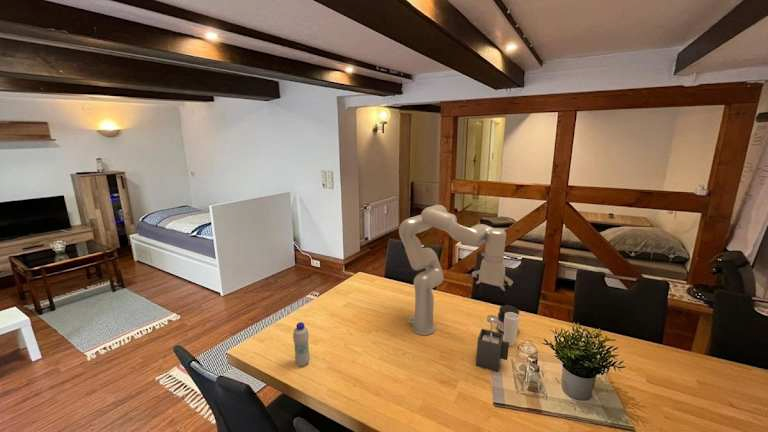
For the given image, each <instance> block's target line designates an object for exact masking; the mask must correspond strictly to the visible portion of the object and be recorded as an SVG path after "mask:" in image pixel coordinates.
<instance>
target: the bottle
mask: <svg viewBox="0 0 768 432" xmlns="http://www.w3.org/2000/svg"><path fill="white" fill-rule="evenodd" d="M309 336H310V333H309V330H308V327H306V326H305V323H304V322H297V323H296V327H295V328H294V330H293V336H292V338H293V339H292V340H293V343H294V359H295V360H294V361H295V364H296V366H298V367H302V366H303V367H306V365H308V364H309V363H310V356H311V355H310V350H309V349H310V348H309V339H310V337H309Z"/></svg>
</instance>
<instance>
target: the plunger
mask: <svg viewBox="0 0 768 432" xmlns="http://www.w3.org/2000/svg"><path fill="white" fill-rule="evenodd" d="M486 321H487V322H488V323H490V329H489V330H490V335H486V334H484V335H483V338H482V340H484V341H488V342H492V343H496V344H499V340H500V338H499V337H495V336H492V332H493V331H494V324H497V322H498V316H497V315H494V314H488V315H487V316H486Z"/></svg>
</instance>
